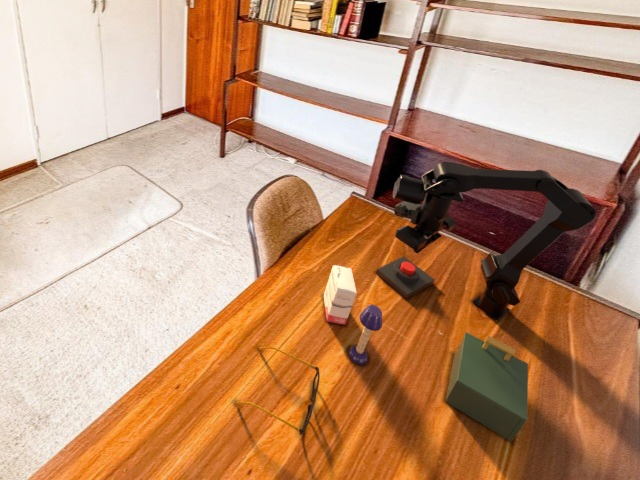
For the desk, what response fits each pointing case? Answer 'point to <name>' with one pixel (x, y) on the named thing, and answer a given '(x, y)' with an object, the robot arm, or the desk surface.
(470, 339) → the chest lid
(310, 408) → the eyeglasses
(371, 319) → the toy lamp
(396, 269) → the button base
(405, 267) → the button
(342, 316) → the ink box
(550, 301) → the desk surface
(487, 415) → the chest
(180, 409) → the desk surface
